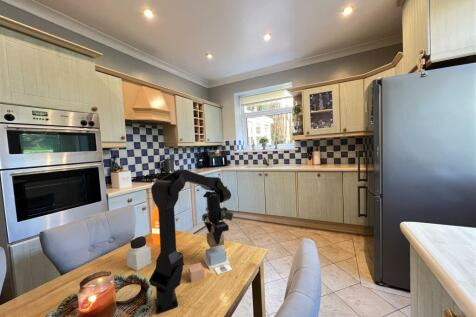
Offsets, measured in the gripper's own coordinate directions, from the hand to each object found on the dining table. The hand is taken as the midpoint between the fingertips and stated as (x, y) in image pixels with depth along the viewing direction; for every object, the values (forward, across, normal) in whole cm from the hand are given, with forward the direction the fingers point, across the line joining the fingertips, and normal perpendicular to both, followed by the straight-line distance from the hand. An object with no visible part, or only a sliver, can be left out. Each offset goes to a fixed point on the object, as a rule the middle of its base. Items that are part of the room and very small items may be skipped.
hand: (215, 241), depth 89 cm
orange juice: (+10, +34, +18) cm, 39 cm away
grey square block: (+9, 0, 0) cm, 9 cm away
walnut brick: (+1, 0, 0) cm, 1 cm away
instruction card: (+9, -7, -1) cm, 12 cm away
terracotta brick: (+10, -6, +10) cm, 16 cm away
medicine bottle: (+10, +14, +30) cm, 35 cm away
